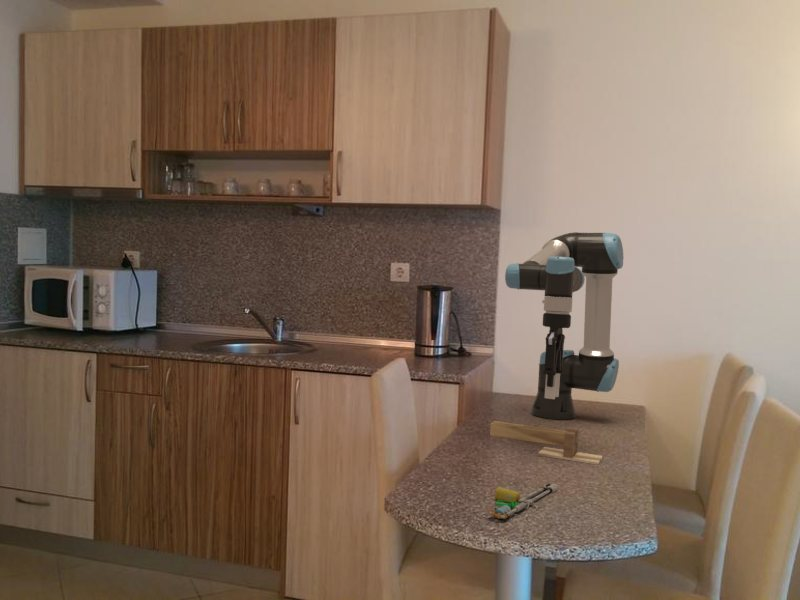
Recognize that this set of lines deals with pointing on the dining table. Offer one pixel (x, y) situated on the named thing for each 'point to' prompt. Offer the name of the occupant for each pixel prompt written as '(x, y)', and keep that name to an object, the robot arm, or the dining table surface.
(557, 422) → the dining table surface
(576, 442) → the fulcrum stand
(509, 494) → the flamethrower
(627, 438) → the dining table surface
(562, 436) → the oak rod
